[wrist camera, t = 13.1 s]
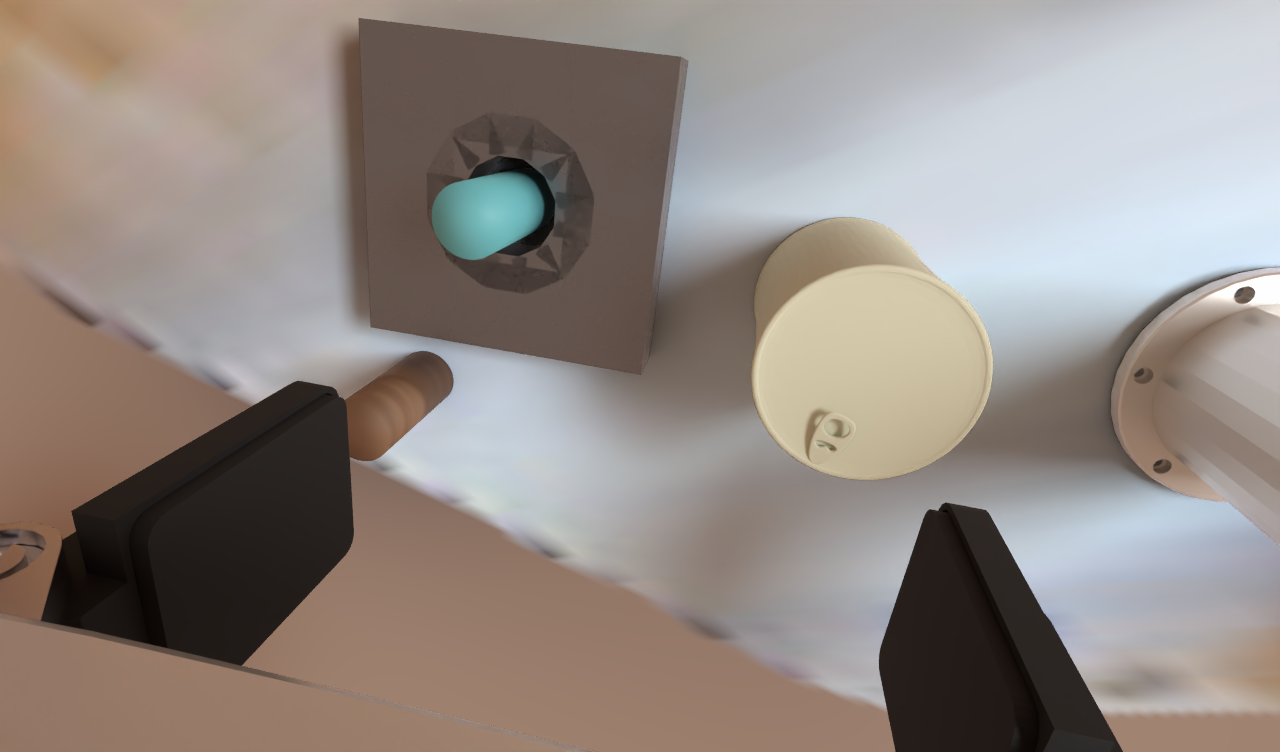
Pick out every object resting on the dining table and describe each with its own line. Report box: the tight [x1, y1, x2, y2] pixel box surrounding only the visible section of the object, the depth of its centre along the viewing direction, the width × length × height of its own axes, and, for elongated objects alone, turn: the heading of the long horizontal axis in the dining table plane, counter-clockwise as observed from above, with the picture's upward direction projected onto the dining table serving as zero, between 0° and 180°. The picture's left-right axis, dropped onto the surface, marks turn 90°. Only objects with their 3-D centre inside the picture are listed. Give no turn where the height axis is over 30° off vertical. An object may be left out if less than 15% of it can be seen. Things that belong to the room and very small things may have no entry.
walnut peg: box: [345, 351, 453, 461], centre depth 40 cm, size 4×4×8 cm
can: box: [751, 218, 993, 480], centre depth 32 cm, size 9×9×12 cm
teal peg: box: [432, 168, 556, 260], centre depth 34 cm, size 4×4×8 cm
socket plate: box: [359, 18, 688, 374], centre depth 37 cm, size 16×16×3 cm
